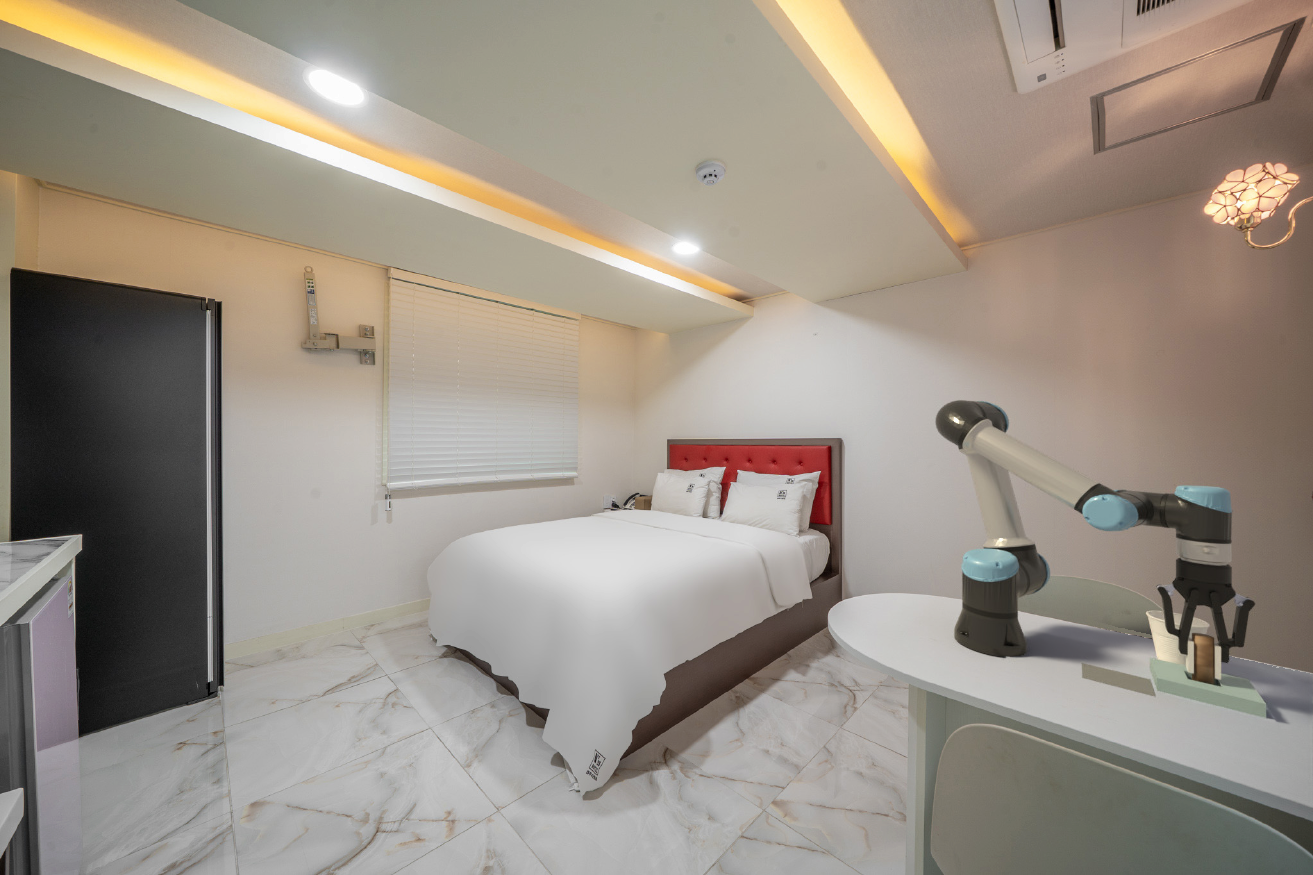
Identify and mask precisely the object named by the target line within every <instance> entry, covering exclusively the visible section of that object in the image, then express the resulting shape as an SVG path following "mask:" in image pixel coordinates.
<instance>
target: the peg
mask: <svg viewBox="0 0 1313 875" xmlns="http://www.w3.org/2000/svg"><path fill="white" fill-rule="evenodd" d="M1192 641H1193V642H1194V674H1193V673H1192V680H1194V681H1198V682H1203V683H1207V684H1211V685H1214V643H1215V637H1213V636H1212V635H1209V634H1207V633H1206V634H1201V633H1192Z"/></svg>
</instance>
